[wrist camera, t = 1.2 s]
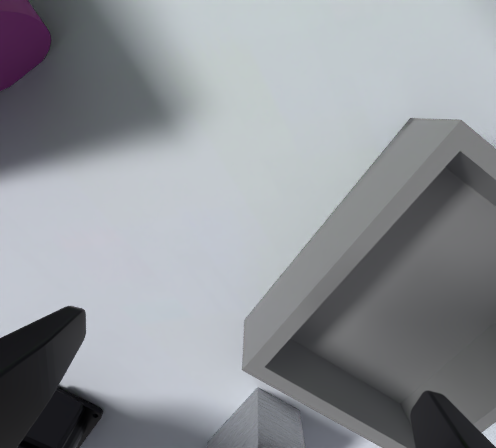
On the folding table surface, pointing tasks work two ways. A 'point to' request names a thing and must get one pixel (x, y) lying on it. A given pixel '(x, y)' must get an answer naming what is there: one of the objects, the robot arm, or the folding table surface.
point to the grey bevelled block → (261, 425)
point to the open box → (392, 292)
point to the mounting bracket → (20, 40)
